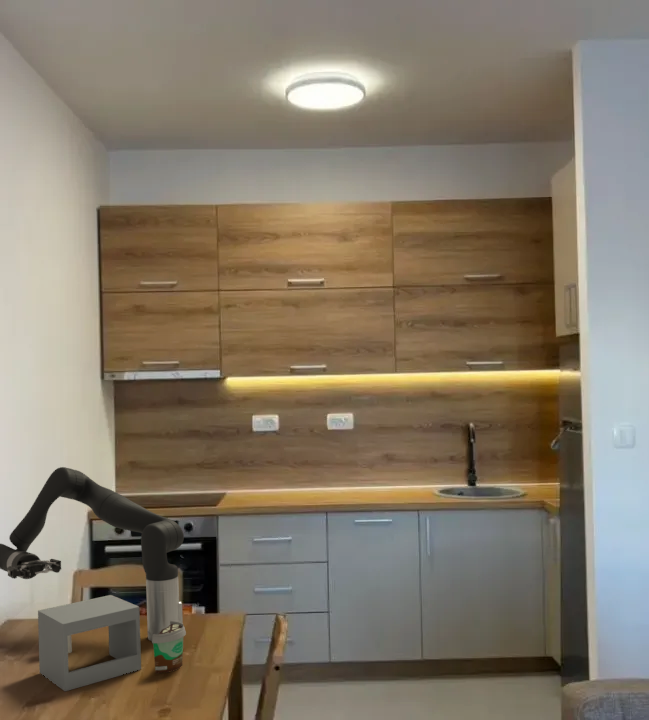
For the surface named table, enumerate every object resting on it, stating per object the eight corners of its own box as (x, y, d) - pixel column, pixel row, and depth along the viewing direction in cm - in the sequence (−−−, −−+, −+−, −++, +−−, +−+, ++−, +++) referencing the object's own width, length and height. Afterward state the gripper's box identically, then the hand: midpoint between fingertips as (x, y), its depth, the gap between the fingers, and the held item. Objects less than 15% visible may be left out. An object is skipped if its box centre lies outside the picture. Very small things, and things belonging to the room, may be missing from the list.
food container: (176, 676, 194) (174, 635, 194) (153, 675, 195) (151, 635, 196) (194, 658, 206) (192, 620, 207) (172, 658, 207) (171, 620, 208)
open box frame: (112, 653, 213) (110, 594, 213) (141, 669, 200) (139, 606, 200) (39, 673, 200) (37, 610, 200) (64, 691, 187) (63, 624, 187)
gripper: (-2, 556, 231) (18, 563, 219) (46, 548, 241) (67, 554, 229) (-1, 581, 231) (19, 589, 219) (47, 572, 240) (68, 580, 228)
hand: (43, 571), depth 224 cm, fingers open, 8 cm apart
